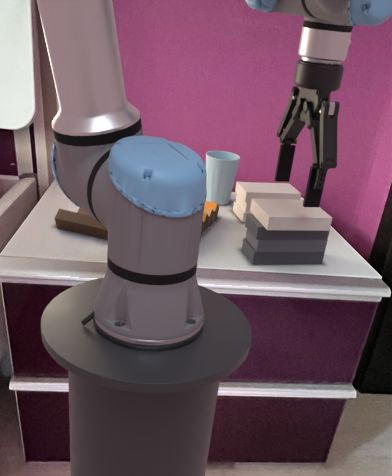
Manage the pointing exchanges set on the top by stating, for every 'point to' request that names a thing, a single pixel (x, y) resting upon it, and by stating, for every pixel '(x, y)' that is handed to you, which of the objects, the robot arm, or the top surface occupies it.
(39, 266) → the top surface
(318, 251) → the grey books
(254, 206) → the white book
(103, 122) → the robot arm
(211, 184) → the cup
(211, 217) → the pan flute
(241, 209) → the white books
